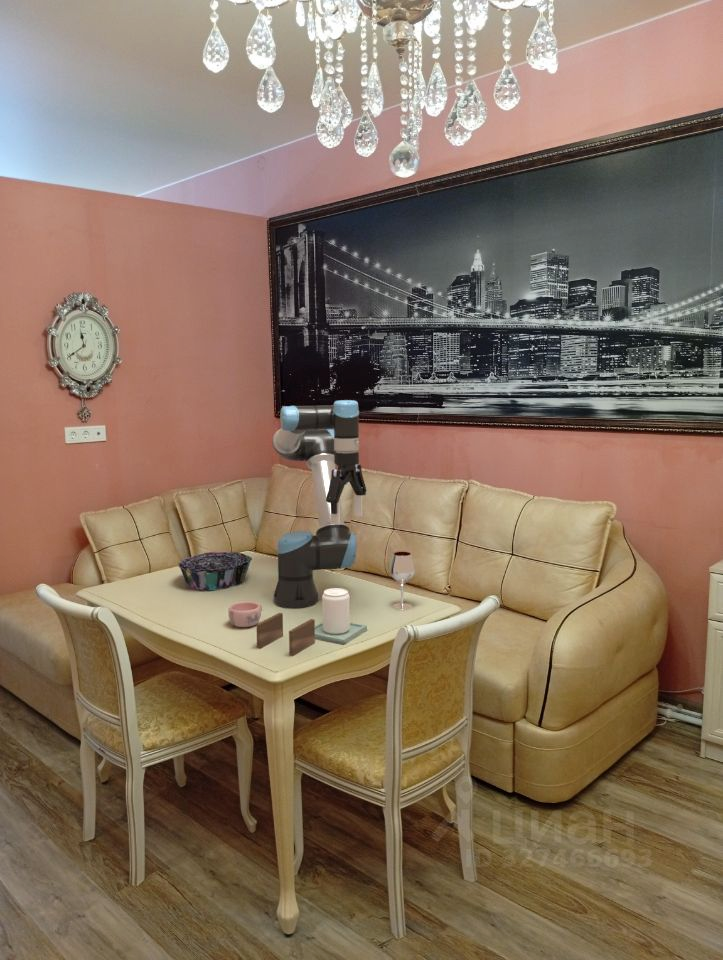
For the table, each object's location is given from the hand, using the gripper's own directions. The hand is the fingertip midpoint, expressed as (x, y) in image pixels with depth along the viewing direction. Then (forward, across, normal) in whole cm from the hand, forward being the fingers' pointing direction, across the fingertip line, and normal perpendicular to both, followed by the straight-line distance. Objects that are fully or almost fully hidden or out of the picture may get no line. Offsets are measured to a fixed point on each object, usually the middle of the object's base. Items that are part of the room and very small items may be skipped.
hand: (347, 519), depth 233 cm
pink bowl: (+32, -19, +25) cm, 45 cm away
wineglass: (+32, +18, -10) cm, 38 cm away
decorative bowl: (+32, +10, +62) cm, 71 cm away
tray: (+32, -13, -4) cm, 34 cm away
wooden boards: (+32, -28, +4) cm, 42 cm away
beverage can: (+31, -13, -4) cm, 34 cm away
